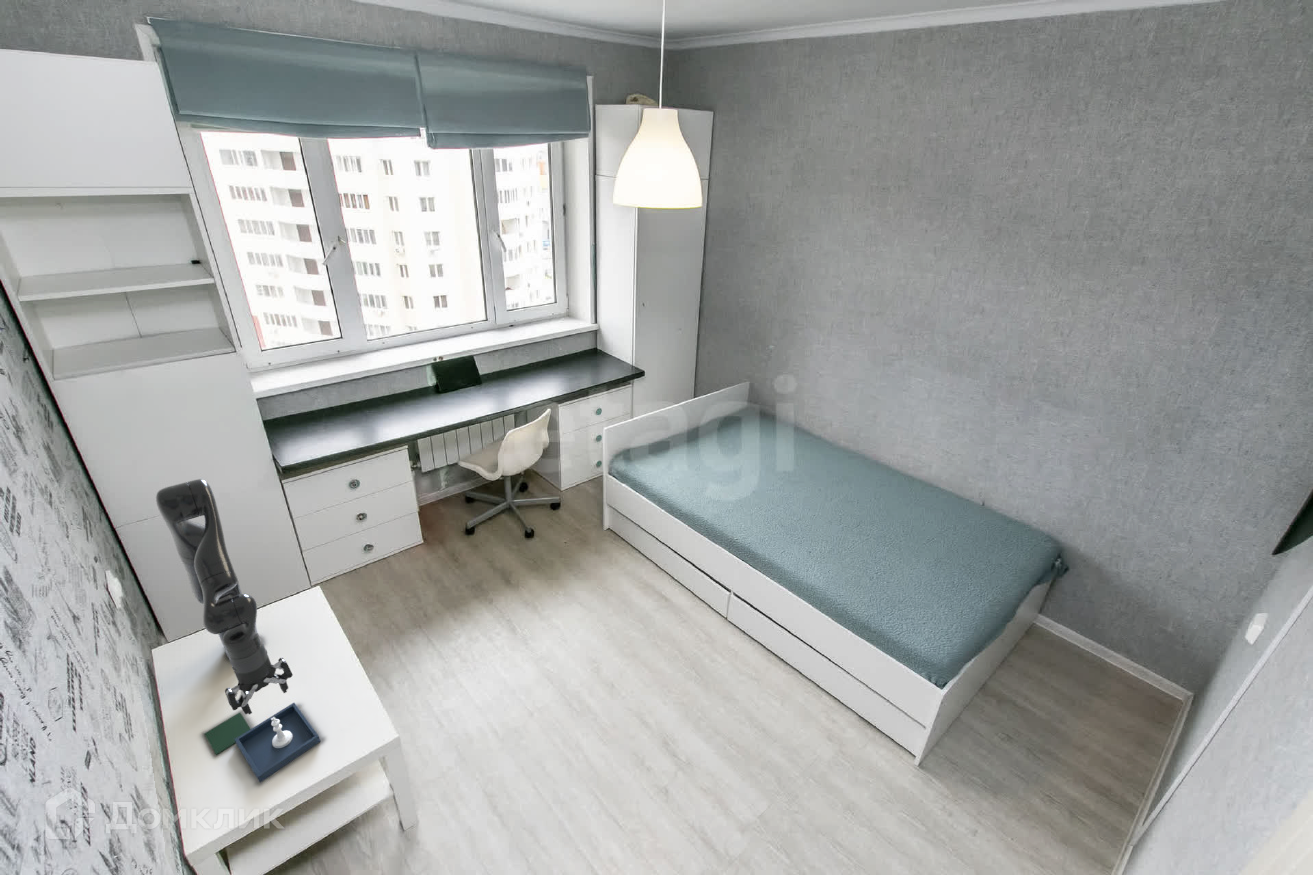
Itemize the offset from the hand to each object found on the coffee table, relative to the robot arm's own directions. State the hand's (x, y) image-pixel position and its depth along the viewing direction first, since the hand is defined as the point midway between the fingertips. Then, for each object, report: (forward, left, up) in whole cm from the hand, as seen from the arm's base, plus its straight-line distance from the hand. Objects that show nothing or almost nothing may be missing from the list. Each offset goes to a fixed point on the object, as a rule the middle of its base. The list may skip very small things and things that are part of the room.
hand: (266, 701), depth 158 cm
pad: (-13, -9, -17) cm, 23 cm away
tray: (0, -1, -17) cm, 17 cm away
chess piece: (0, 0, -17) cm, 17 cm away
